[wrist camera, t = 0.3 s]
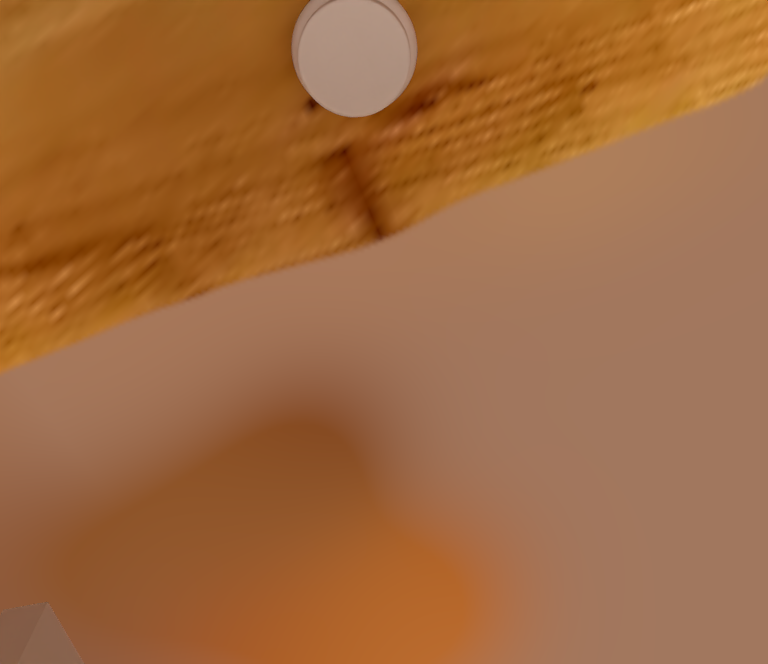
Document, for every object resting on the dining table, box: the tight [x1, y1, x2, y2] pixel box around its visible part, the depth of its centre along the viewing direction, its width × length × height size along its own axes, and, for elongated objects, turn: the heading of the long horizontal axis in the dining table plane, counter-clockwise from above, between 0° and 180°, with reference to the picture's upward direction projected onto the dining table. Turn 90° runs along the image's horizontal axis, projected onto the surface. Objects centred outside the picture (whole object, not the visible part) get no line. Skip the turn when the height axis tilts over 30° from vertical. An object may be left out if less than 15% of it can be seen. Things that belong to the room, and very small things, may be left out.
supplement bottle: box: [292, 0, 417, 117], centre depth 29 cm, size 5×5×8 cm
